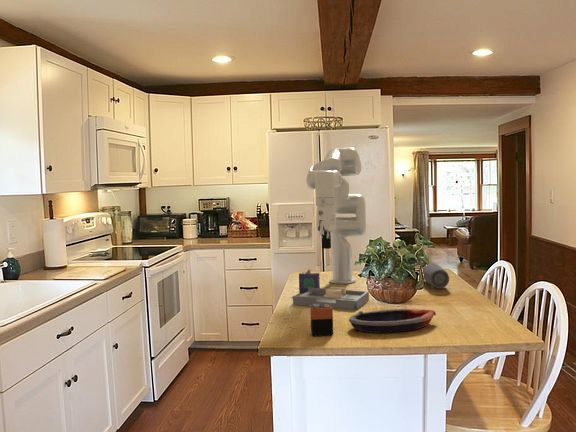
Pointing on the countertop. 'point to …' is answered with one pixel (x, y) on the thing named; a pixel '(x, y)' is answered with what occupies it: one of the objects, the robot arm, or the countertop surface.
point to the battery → (321, 320)
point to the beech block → (336, 292)
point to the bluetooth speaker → (435, 275)
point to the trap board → (332, 299)
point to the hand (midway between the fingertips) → (326, 248)
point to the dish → (391, 320)
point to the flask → (308, 281)
